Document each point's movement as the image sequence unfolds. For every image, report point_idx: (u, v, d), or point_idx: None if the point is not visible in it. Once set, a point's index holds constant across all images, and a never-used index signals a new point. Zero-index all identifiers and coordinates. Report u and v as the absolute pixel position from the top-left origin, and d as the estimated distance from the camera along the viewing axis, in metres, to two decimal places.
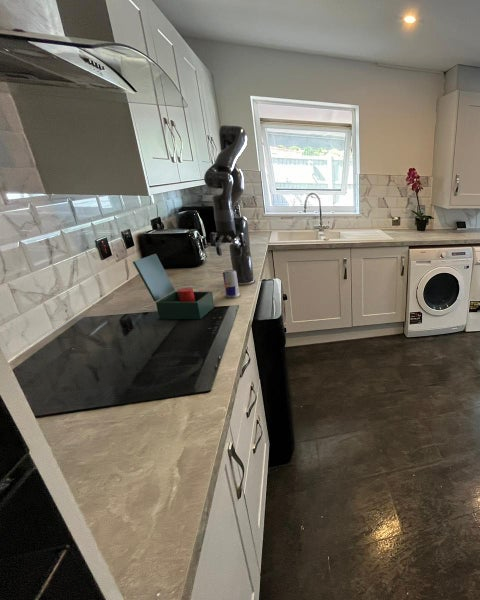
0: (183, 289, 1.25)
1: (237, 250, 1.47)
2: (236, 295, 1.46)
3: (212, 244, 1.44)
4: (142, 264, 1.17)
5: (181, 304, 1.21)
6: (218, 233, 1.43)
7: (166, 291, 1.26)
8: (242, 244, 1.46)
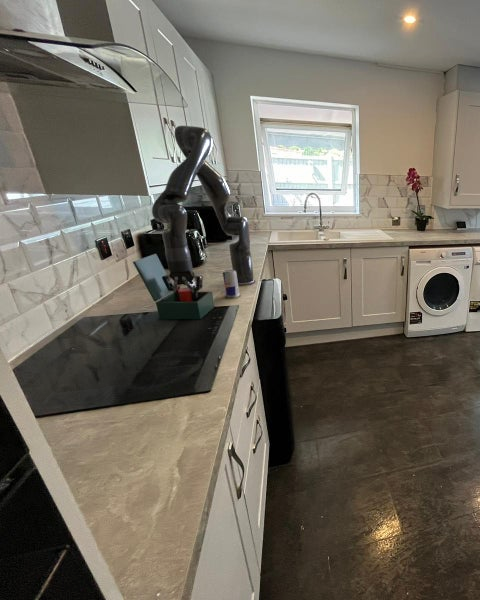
0: (183, 289, 1.25)
1: None
2: (236, 295, 1.46)
3: (169, 288, 1.23)
4: (142, 264, 1.17)
5: (181, 304, 1.21)
6: (171, 274, 1.21)
7: (166, 291, 1.26)
8: (197, 288, 1.24)
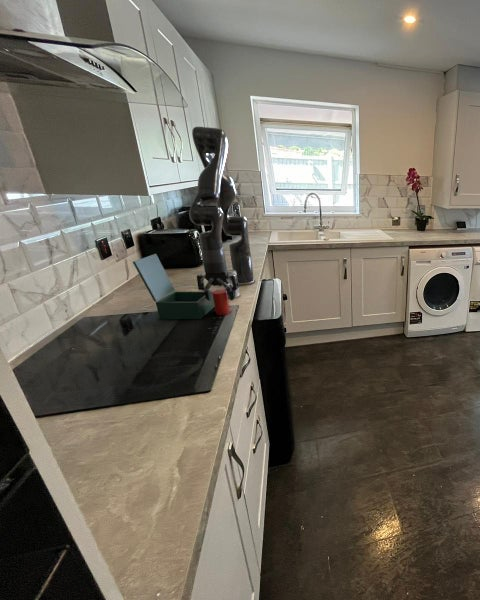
0: (217, 291, 1.26)
1: (229, 294, 1.26)
2: (236, 295, 1.46)
3: (200, 288, 1.24)
4: (142, 264, 1.17)
5: (181, 304, 1.21)
6: (207, 275, 1.23)
7: (166, 291, 1.26)
8: (235, 287, 1.25)
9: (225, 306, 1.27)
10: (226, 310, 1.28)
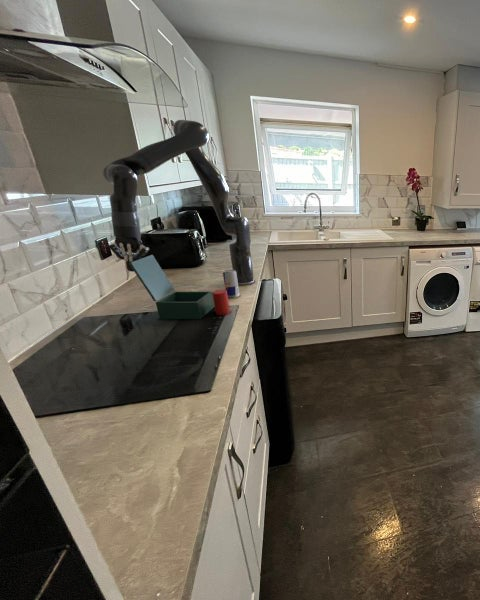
0: (217, 291, 1.26)
1: (129, 264, 1.18)
2: (236, 295, 1.46)
3: (121, 257, 1.17)
4: (139, 265, 1.17)
5: (181, 304, 1.21)
6: (115, 240, 1.16)
7: (166, 291, 1.26)
8: (136, 257, 1.18)
9: (225, 306, 1.27)
10: (226, 310, 1.28)
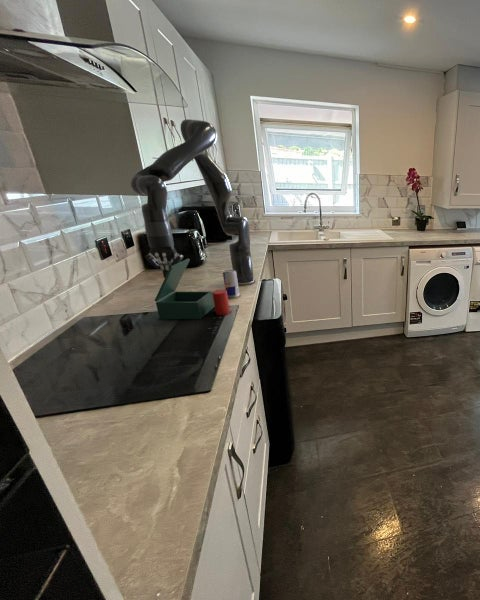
0: (217, 291, 1.26)
1: (166, 273, 1.21)
2: (236, 295, 1.46)
3: (157, 266, 1.20)
4: (174, 269, 1.19)
5: (181, 304, 1.21)
6: (151, 250, 1.18)
7: (169, 292, 1.26)
8: None
9: (225, 306, 1.27)
10: (226, 310, 1.28)
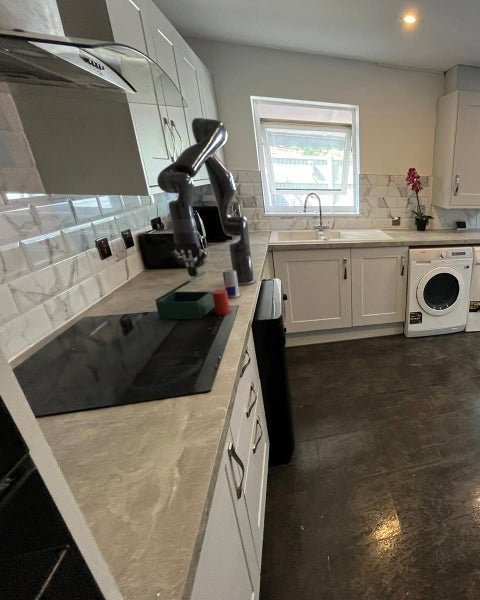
0: (217, 291, 1.26)
1: (191, 270, 1.21)
2: (236, 295, 1.46)
3: (182, 263, 1.20)
4: None
5: (181, 304, 1.21)
6: (176, 247, 1.18)
7: None
8: (197, 263, 1.21)
9: (225, 306, 1.27)
10: (226, 310, 1.28)
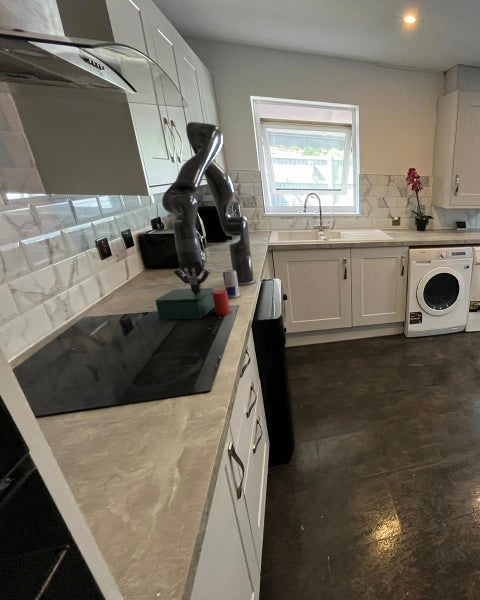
0: (217, 291, 1.26)
1: (194, 287, 1.24)
2: (236, 295, 1.46)
3: (186, 281, 1.23)
4: None
5: (181, 304, 1.21)
6: (180, 266, 1.21)
7: None
8: (200, 280, 1.23)
9: (225, 306, 1.27)
10: (226, 310, 1.28)
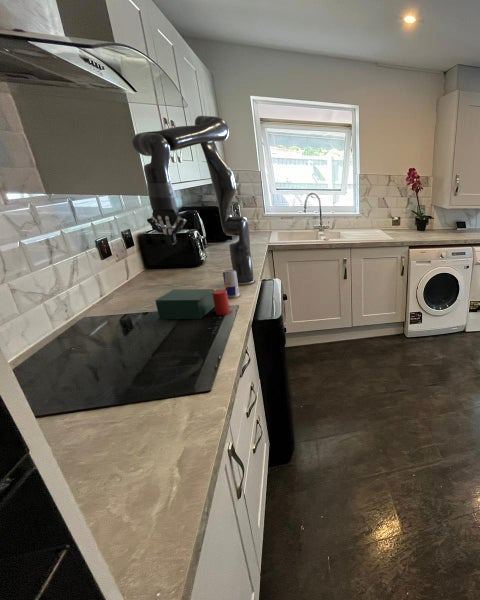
0: (217, 291, 1.26)
1: (169, 237, 1.19)
2: (236, 295, 1.46)
3: (160, 230, 1.17)
4: None
5: (181, 304, 1.21)
6: (153, 213, 1.15)
7: None
8: (175, 230, 1.18)
9: (225, 306, 1.27)
10: (226, 310, 1.28)
